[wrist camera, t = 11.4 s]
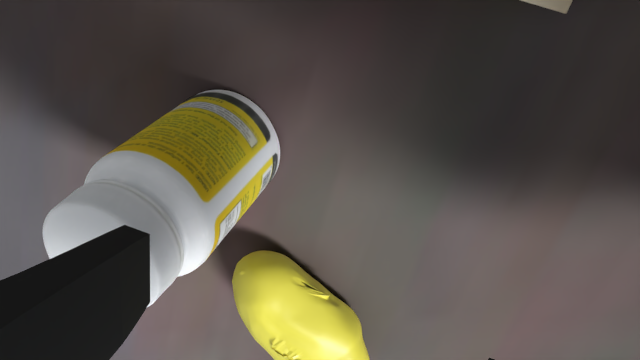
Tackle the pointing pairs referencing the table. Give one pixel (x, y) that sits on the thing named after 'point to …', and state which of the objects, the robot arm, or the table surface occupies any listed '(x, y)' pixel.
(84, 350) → the robot arm
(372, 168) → the table surface
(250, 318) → the lemon
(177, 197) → the supplement bottle
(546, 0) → the birch block
